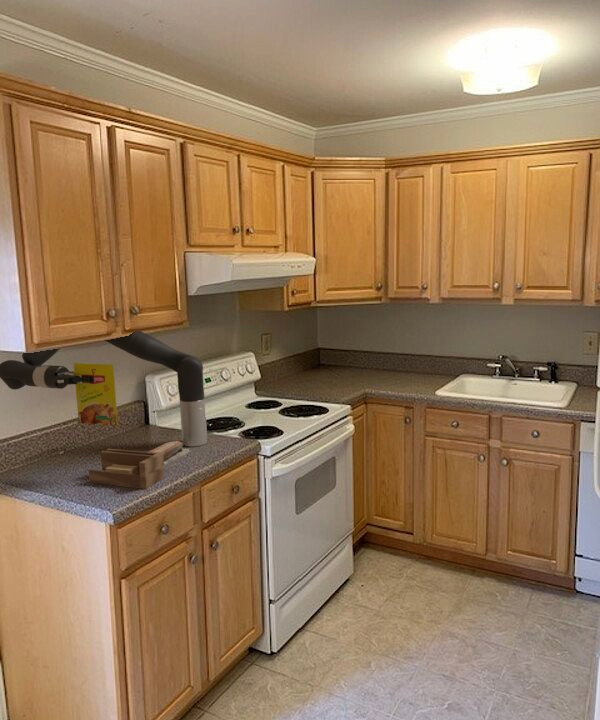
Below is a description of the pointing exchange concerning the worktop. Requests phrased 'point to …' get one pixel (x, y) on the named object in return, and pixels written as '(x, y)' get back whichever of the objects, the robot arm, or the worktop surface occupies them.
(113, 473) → the walnut rack
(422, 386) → the worktop surface
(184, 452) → the packaged product
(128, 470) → the upper pine offcut
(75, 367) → the food package
